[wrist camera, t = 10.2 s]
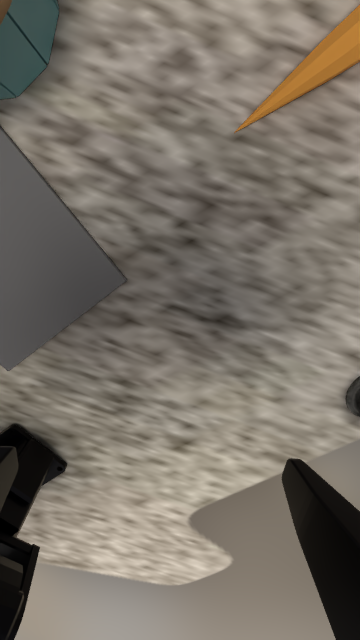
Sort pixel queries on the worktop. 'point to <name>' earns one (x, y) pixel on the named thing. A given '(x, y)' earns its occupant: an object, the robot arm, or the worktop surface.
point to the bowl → (25, 43)
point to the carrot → (317, 66)
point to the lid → (4, 8)
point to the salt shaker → (354, 397)
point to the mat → (42, 260)
